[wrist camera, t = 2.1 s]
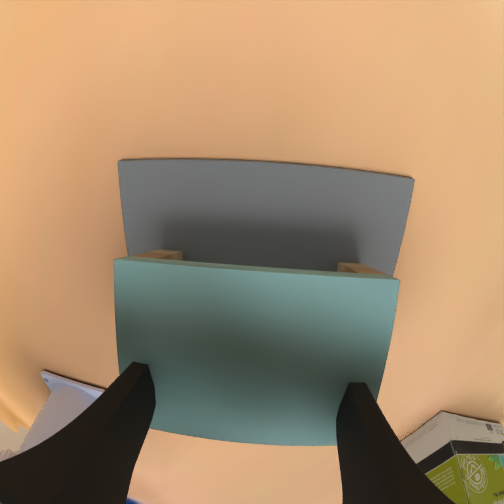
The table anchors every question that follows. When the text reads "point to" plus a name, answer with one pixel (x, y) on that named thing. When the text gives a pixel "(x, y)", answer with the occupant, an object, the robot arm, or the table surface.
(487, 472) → the tea box
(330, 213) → the floor mat
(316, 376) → the footstool
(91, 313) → the table surface
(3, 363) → the table surface
